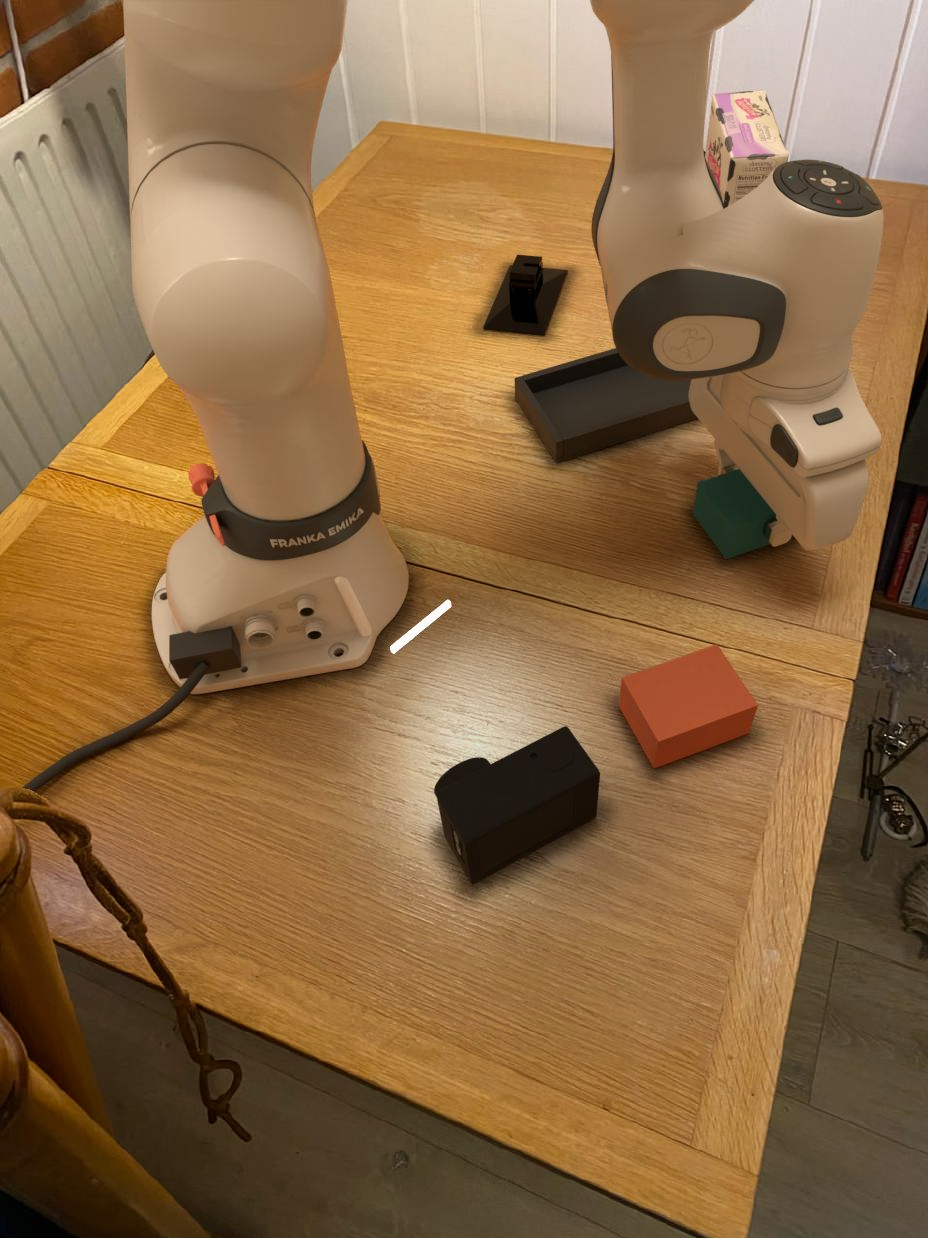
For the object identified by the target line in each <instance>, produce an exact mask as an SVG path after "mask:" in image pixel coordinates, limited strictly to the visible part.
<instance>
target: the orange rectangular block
mask: <svg viewBox="0 0 928 1238" xmlns="http://www.w3.org/2000/svg"><path fill="white" fill-rule="evenodd" d="M620 680H621V681H620V690H619V700H618V701H619V702H618V707H619V709H620V711H621V713H622V714H623V715H622V716H623V717H624V718H625V720H626V722H627V724H628V726H629V727H630V729H631V731H632V732H633V735H634V736H635V738H636V740H637V741H638V743H639V745H640V747H641V748H642V750H643V752H644V754H645V756H646V758H647V760H648V761H649V763H650V765H651V766H652V768H653V769H655V770H656V769H657V768H659V767H662V766H665V765H668V764H670V763H674V762H675V761H679V760H681V759H684V758H687V757H689V756H692V755H695V754H698V753H700V752H703V751H705V750H709V749H711V748H714V747H716V746H718V745H721V744H724V743H727V742H730V741H733V740H735V739H737V738H741V737H743V736H745V735H748V734H750V732H751V729H752V726H753V723H754V719H755V716H756V712H757V710H758V706H759V705H758V703H757V702H756V700H755V698H754V696H752V694H751V693H750V691H749V689H748V688H747V686H746V685H745V683H744V682H743V681H742V679H741V678H740V675H738V673H737V671H736V670H735V669H734V667H733V666H732V664H731V663H730V661H729V660H728V657H726V655H725V654H724V652H723V651H722V649H721V648H720V646H719V645H718V644H717V643H715V644H712V645H710V646H708V647H704V648H701V649H699V650H696V651H693V652H690V653H688V654H685V655H682V656H679V657H676V658H674V659H671V660H668V661H665V662H662V663H660V664H656V665H653V666H651V667H648V668H645V669H643V670H639V671H637V672H634V673H630V674H628V675H626V676H623V677H621V679H620Z"/></svg>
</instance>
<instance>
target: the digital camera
mask: <svg viewBox="0 0 928 1238" xmlns="http://www.w3.org/2000/svg"><path fill="white" fill-rule="evenodd" d="M600 781H601V771H600V769H599V768H598V766H597V765H596V764H595V762H593V760H592V758H591V757H590V756H589V755H588V753H587V751H586V750H585V749H584V747H583V746H582V745H581V742H579V740H578V739H577V738H576V736H575V735H574V733H573V732H572V731H571V729H570V727H569V726H567V725H564V726H562V727H560V728H558V729H555V730H554V731H552V732H550V733H548V734H547V735H545V736H543V737H540V738H539V739H537V740H534V741H533V742H531V743H529V744H527V745H525V746H523V747H521V748H519V749H517V750H515V751H513V752H511V753H510V754H507V755H505V756H504V757H502V758H500V759H498V760H495V761H494V762H491V763H490V761H489V759H487V758H486V757H481V756H475V757H470V758H468V759H465V760H462V761H460V762H458V763H456V764H455V765H453V766H451V767H450V768H448V770H446V771H444V773H443V774H442V775H441V776H440V777H439V779H438V780H437V782H436V783H435V785H434V788H433V793H434V796H435V797H436V802H437V806H438V811H439V816H440V820H441V825H442V830H443V835H444V838H445V841H446V842H447V844H448V846H449V848H450V849H451V851H452V852H453V854H454V857H455V858H456V860H457V861H458V863H459V865H460V867H461V868H462V870H463V872H464V874H465V875H466V877H467V879H468V881H469V883H470V884H471V885H472V886H473V885H475V884H477V883H479V882H480V881H483V880H484V879H486V878H488V877H490V876H492V875H494V874H495V873H497V872H499V871H501V870H503V869H504V868H506V867H509V866H510V865H512V864H514V863H515V862H517V861H519V860H521V859H523V858H525V857H527V856H528V855H530V854H532V853H533V852H536V851H537V850H539V849H541V848H543V847H545V846H547V845H548V844H550V843H553V842H554V841H555V840H557V839H560V838H561V837H563V836H565V835H567V834H568V833H570V832H573V831H574V830H576V829H578V828H580V827H581V826H584V825H585V824H587V823H589V822H591V821H592V820H595V819H596V818H597V817H598V816H597V813H598V805H599V804H598V803H599V792H600V783H601V782H600Z"/></svg>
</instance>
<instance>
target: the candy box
mask: <svg viewBox="0 0 928 1238" xmlns="http://www.w3.org/2000/svg"><path fill="white" fill-rule="evenodd" d="M710 103H711V104H710V112H709V121H708V129H707V139H706V146H705V152H706V153H705V159H706V161H707V163H708V165H709V167H710V169H711V171H712V173H713V175H714V177H715V179H716V181H717V183H718V186H719V188H720V191H721V195H722V199H723V203H724V207H725V208H726V207H728V206H730V205H731V204H733V203H735V202H736V201H738V200H739V199H741V198H742V197H744V196H745V195H747V194H748V193H750V192H751V191H752V190H754V189H755V188H757V187H758V186H759V185H760V184H761V183H762V182H763V181H764V180H765V179H766V178H767V177H768V176H769V174H770V173H771V172H772V171H773V170H774V169H775V168H776V167H778V166H779V165H781V164H783V163H786V162H789V161H788V160H789V156H790V152H789V151H788V149H787V148H786V145H785V142H784V139H783V137H782V134H781V132H780V129H779V128H780V127H779V125H778V123H777V119H776V117H775V113H774V111H773V109H772V106H771V104H770V101H769V98H768V94H767V91H766V89H762V90H746V91H745V90H744V91H737V92H721V93H712V95H711V102H710Z"/></svg>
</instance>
